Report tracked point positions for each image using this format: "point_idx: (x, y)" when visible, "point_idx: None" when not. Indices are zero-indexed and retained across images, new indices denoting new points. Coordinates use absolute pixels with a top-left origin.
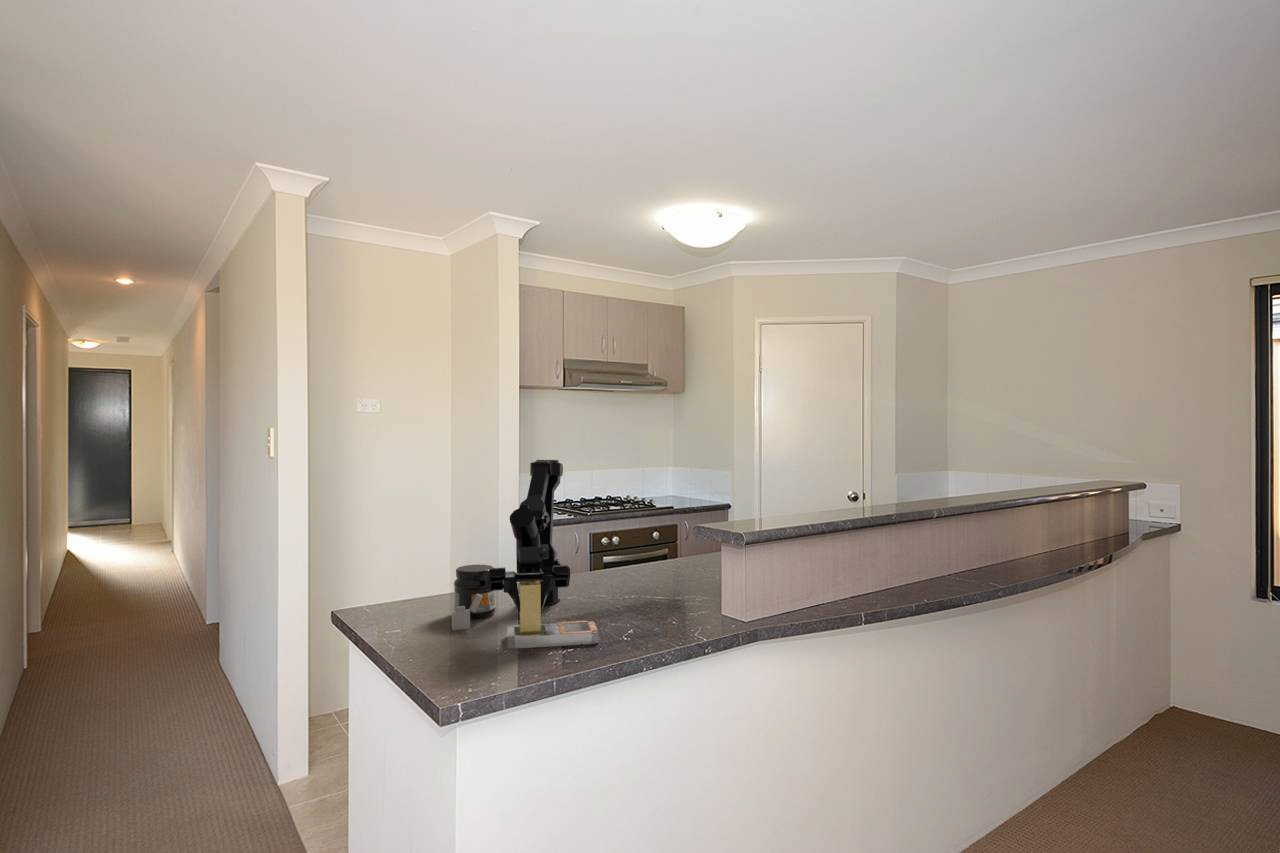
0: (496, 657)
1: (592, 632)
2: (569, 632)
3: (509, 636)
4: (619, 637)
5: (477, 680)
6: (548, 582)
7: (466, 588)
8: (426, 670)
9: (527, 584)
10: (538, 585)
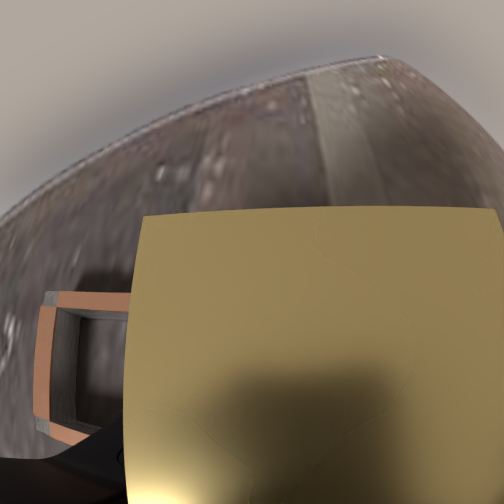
0: None
1: (58, 295)
2: (124, 302)
3: None
4: (17, 342)
5: (390, 106)
6: (29, 465)
7: None
8: (500, 174)
9: (412, 262)
10: (186, 222)
